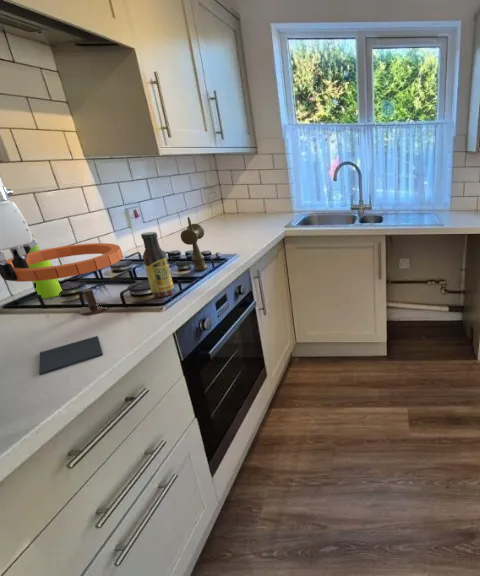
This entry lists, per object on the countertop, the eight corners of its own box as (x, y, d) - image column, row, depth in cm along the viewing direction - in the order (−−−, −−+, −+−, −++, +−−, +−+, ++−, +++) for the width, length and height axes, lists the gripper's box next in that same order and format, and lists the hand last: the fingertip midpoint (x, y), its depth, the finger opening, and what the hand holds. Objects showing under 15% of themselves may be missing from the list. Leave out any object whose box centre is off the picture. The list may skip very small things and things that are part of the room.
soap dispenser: (32, 297, 116) (5, 236, 108) (59, 289, 121) (35, 231, 113) (38, 301, 112) (10, 239, 105) (65, 293, 118) (41, 233, 110)
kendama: (212, 264, 141) (200, 213, 133) (206, 273, 132) (193, 219, 125) (195, 266, 140) (183, 214, 132) (188, 274, 131) (174, 220, 123)
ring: (-2, 289, 78) (-7, 278, 77) (7, 264, 95) (3, 255, 94) (128, 265, 93) (126, 255, 92) (116, 247, 110) (113, 238, 109)
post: (80, 317, 101) (72, 297, 99) (78, 309, 106) (71, 290, 104) (110, 309, 105) (103, 290, 103) (107, 302, 110) (100, 283, 108)
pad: (39, 374, 77) (39, 373, 76) (40, 353, 84) (39, 352, 84) (102, 354, 83) (102, 353, 83) (97, 337, 91) (97, 335, 91)
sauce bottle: (163, 299, 111) (145, 236, 104) (148, 297, 113) (129, 235, 106) (180, 291, 117) (164, 231, 109) (165, 289, 119) (149, 230, 111)
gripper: (13, 192, 85) (42, 266, 92) (-81, 203, 71) (-38, 289, 78) (37, 192, 83) (65, 268, 90) (-54, 203, 69) (-12, 292, 76)
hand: (17, 277), depth 84 cm, fingers closed on ring, 2 cm apart
